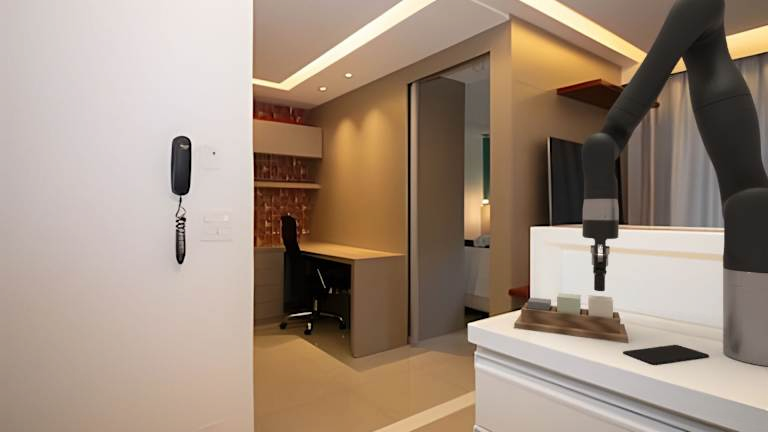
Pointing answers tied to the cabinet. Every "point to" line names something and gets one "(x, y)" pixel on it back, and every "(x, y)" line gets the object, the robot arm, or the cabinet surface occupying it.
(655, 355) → the smartphone
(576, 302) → the key sage
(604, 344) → the cabinet surface
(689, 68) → the robot arm
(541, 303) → the key charcoal
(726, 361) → the cabinet surface
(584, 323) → the wooden tray
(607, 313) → the beige cube
